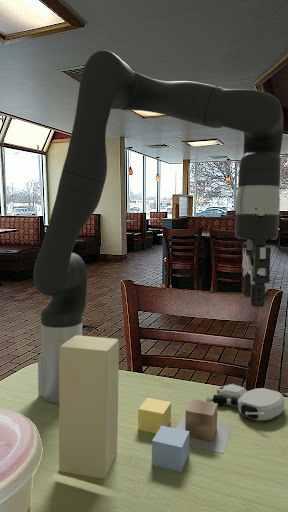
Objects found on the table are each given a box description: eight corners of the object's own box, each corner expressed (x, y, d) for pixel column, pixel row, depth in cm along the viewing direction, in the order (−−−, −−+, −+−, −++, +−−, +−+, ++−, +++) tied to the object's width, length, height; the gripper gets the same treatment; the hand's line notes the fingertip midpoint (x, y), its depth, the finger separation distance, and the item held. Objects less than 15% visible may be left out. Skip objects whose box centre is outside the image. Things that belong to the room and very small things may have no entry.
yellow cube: (138, 433, 72) (138, 408, 72) (147, 421, 77) (147, 397, 76) (162, 439, 70) (163, 413, 70) (170, 426, 75) (171, 402, 75)
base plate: (168, 444, 68) (168, 440, 68) (182, 418, 78) (182, 415, 78) (223, 457, 65) (223, 453, 65) (231, 428, 74) (231, 424, 74)
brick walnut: (185, 436, 70) (185, 410, 69) (191, 423, 74) (192, 398, 74) (211, 442, 68) (212, 415, 68) (216, 428, 73) (217, 403, 72)
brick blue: (151, 469, 62) (152, 440, 61) (161, 452, 66) (161, 425, 66) (181, 477, 60) (181, 447, 59) (188, 459, 65) (189, 431, 64)
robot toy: (202, 412, 83) (266, 434, 72) (201, 392, 83) (266, 410, 72) (232, 394, 91) (293, 412, 81) (231, 376, 91) (292, 391, 81)
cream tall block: (119, 455, 65) (120, 337, 63) (106, 483, 58) (106, 351, 56) (76, 448, 67) (76, 333, 65) (58, 475, 60) (57, 346, 58)
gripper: (231, 213, 75) (228, 293, 77) (241, 211, 61) (237, 309, 63) (270, 214, 74) (266, 294, 76) (289, 211, 60) (283, 311, 62)
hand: (253, 301), depth 69 cm, fingers open, 8 cm apart
